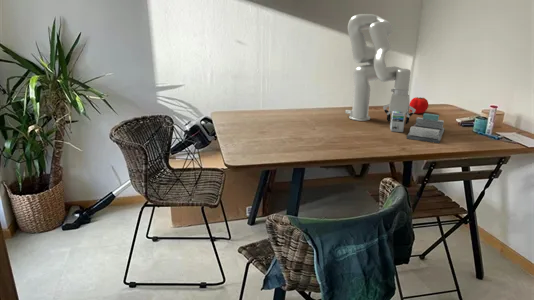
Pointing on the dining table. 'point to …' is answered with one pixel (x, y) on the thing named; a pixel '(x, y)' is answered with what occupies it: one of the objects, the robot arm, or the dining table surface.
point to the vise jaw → (430, 121)
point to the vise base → (425, 133)
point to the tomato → (419, 105)
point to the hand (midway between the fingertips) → (397, 122)
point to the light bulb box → (397, 121)
